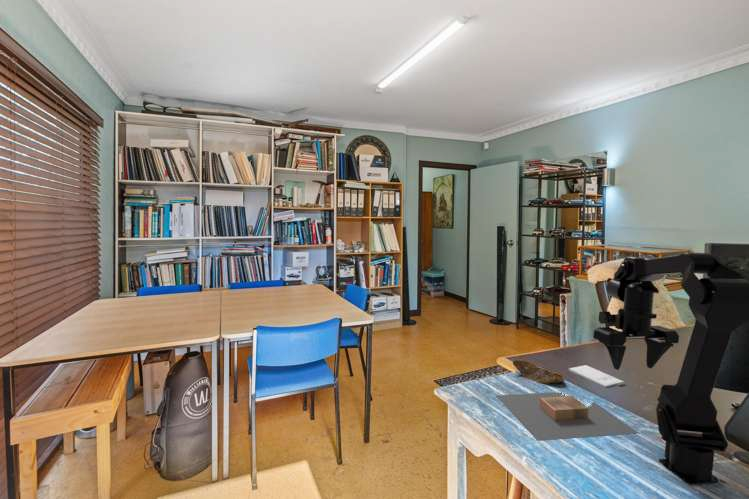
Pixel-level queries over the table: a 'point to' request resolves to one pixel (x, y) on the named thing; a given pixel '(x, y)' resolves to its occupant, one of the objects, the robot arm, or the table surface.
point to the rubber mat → (549, 429)
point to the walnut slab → (563, 408)
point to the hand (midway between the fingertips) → (632, 368)
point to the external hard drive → (596, 376)
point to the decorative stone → (537, 372)
